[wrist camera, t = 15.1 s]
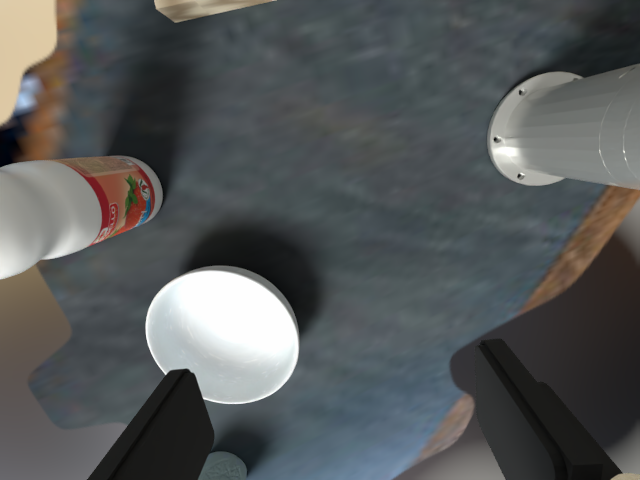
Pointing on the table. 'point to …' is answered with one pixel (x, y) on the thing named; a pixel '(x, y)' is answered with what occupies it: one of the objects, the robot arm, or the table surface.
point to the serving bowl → (225, 333)
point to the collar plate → (200, 7)
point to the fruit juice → (70, 206)
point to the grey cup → (223, 467)
